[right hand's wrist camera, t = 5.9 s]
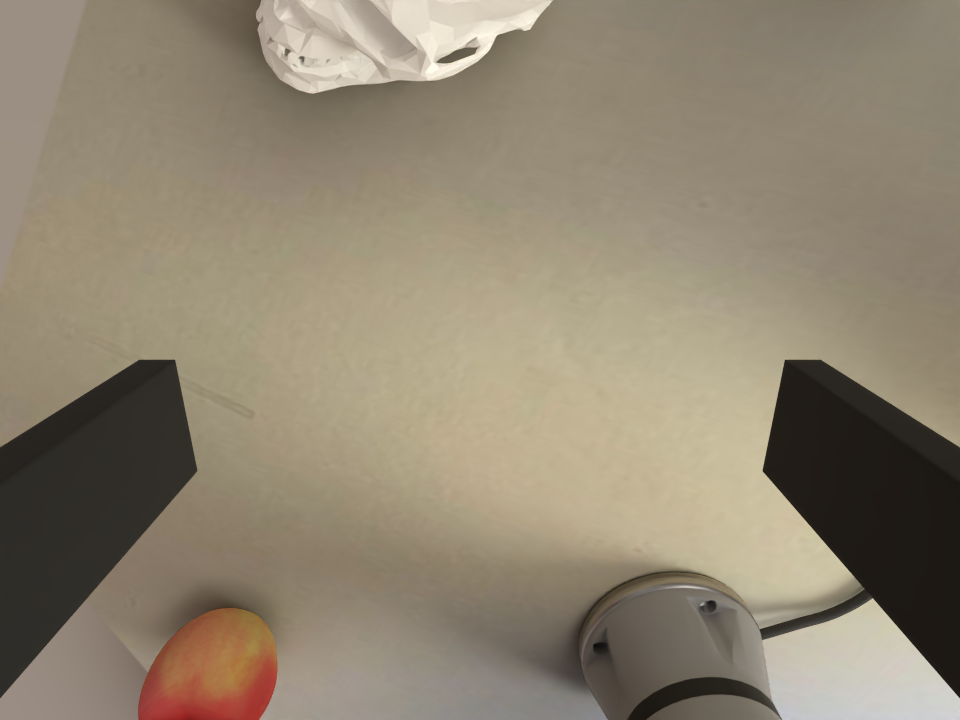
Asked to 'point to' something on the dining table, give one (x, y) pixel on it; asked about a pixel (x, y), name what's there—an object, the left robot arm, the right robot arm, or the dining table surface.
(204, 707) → the apple
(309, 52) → the skull
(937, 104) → the dining table surface
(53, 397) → the dining table surface
